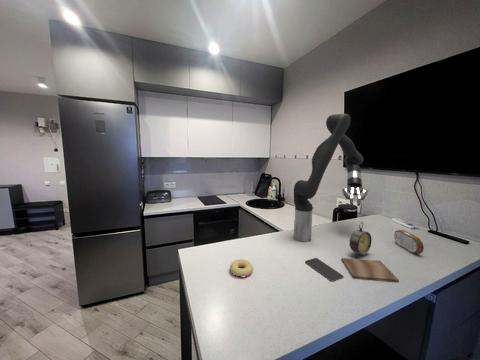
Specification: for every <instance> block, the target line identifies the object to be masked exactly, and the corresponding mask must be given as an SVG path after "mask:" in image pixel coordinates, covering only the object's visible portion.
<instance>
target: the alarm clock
mask: <svg viewBox="0 0 480 360" xmlns="http://www.w3.org/2000/svg"><path fill="white" fill-rule="evenodd" d="M360 226H361V227H360ZM363 227H364V222H363V221H361V222H360V223H359V225H358V228H359V229H356V230H355V231H353V232H352V233H351V234H350V235H351V236H350V237H349V238H350V239H349V248H350V249H351V251H352V252H354V253H355V256H354V259H357V257H358V255H361V256H364V255H366V254H367V253H368V252H369V251H370V248H371V246H372V239H373V238H372V235H371V234H370V232H368V231H365V230H362V229H363Z"/></svg>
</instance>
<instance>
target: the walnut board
mask: <svg viewBox="0 0 480 360" xmlns="http://www.w3.org/2000/svg"><path fill="white" fill-rule="evenodd" d="M340 259H341V262H342V263H343V265H344V266H345V268H346V269H347V271H348V273H349V274H350V276H351V277H352V279H357V280H359V279H360V280H369V281H370V280H371V281H381V282H393V283H399V282H400V280H399V278H398V277H397V276H396V275H395V274H394V273H393V272H392V271H391V270H390V269H389V268H388V267H387V266H386V265H385V264H384V263H383V262H382V261H381V260H374V259H359V258H346V257H341V258H340Z"/></svg>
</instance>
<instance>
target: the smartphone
mask: <svg viewBox="0 0 480 360" xmlns="http://www.w3.org/2000/svg"><path fill="white" fill-rule="evenodd" d="M304 263H305V264H306V265H307V266H309V267H310V268H311V269H313V270H314V271H316V272H317V273H318V274H319V273H320V276H322V277H324V279H326V278H327V279H326V280H328V281H329V282H331V283H335V282H337V281H340V280H341V279H344V278H345V276H344V275H343V274H342V273H340V272H339V271H337V270H336V269H334V268H332V267H331V266H330V265H328V264H327V263H325V262H324V261H322V260H321V259H319V258H318V257H313V258H310V259H307V260H305V262H304ZM339 279H340V280H339ZM336 280H337V281H336Z"/></svg>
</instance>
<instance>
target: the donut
mask: <svg viewBox="0 0 480 360" xmlns="http://www.w3.org/2000/svg"><path fill="white" fill-rule="evenodd" d="M229 267H230V268H229V269H230V270H229V271H230V272H231V273H233V274H232V275H234V276H235V275H236V277H237V276H247V277H249V276H251V275H252V273H253V271H254V267H253V264H252V263H251V262H250V261H248V260H247V259H243V258H240V259H239V258H238V259H236V260H234V261H232V262H231V264H230V266H229ZM238 267H239V268H238ZM243 267H244V268H243ZM248 275H249V276H248Z"/></svg>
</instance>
